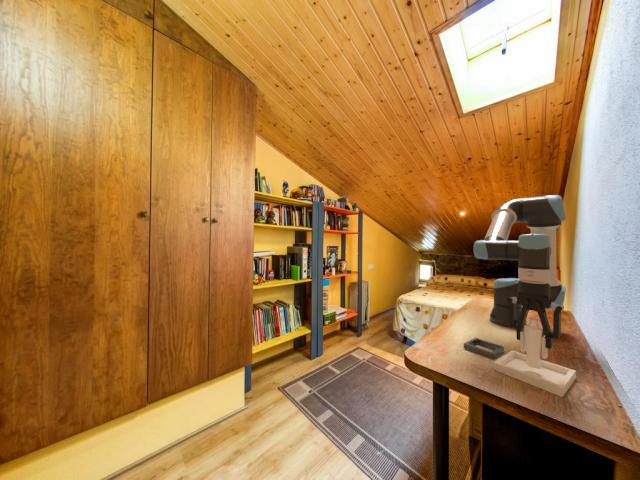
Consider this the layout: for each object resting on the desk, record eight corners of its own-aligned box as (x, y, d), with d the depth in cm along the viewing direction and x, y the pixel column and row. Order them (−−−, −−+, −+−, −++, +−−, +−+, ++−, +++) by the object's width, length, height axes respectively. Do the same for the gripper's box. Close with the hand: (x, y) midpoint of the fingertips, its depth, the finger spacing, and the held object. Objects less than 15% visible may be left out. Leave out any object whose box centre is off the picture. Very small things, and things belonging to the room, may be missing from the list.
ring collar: (475, 342, 97) (475, 337, 97) (504, 351, 89) (504, 346, 89) (463, 348, 92) (463, 343, 92) (493, 359, 83) (493, 353, 83)
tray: (512, 356, 85) (512, 350, 85) (575, 378, 72) (575, 370, 72) (493, 369, 76) (493, 362, 76) (562, 397, 63) (562, 388, 63)
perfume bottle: (548, 370, 71) (548, 321, 71) (532, 369, 72) (532, 321, 72) (536, 362, 76) (536, 317, 76) (521, 361, 76) (521, 316, 76)
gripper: (496, 278, 79) (496, 346, 79) (570, 287, 65) (570, 370, 65) (504, 277, 84) (504, 341, 83) (576, 284, 69) (576, 362, 69)
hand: (533, 353), depth 74 cm, fingers closed on perfume bottle, 4 cm apart
